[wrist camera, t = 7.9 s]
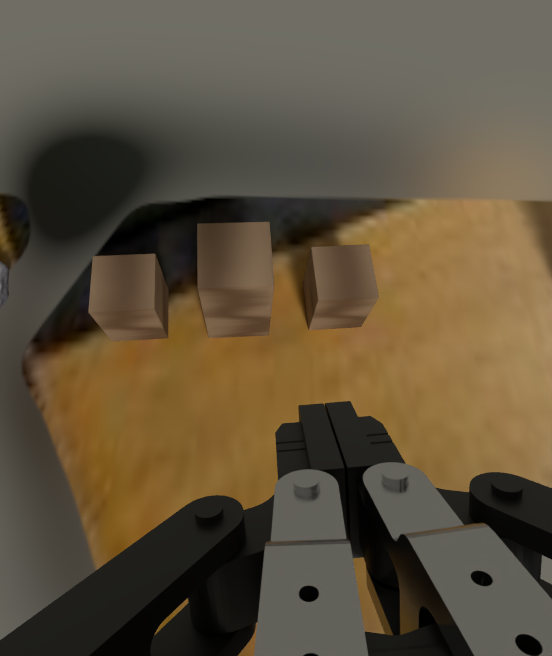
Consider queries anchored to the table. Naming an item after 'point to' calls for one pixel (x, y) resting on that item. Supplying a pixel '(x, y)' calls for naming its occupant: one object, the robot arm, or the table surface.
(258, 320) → the plain pillar
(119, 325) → the block seven
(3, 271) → the stone block
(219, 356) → the table surface
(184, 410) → the table surface
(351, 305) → the block one
